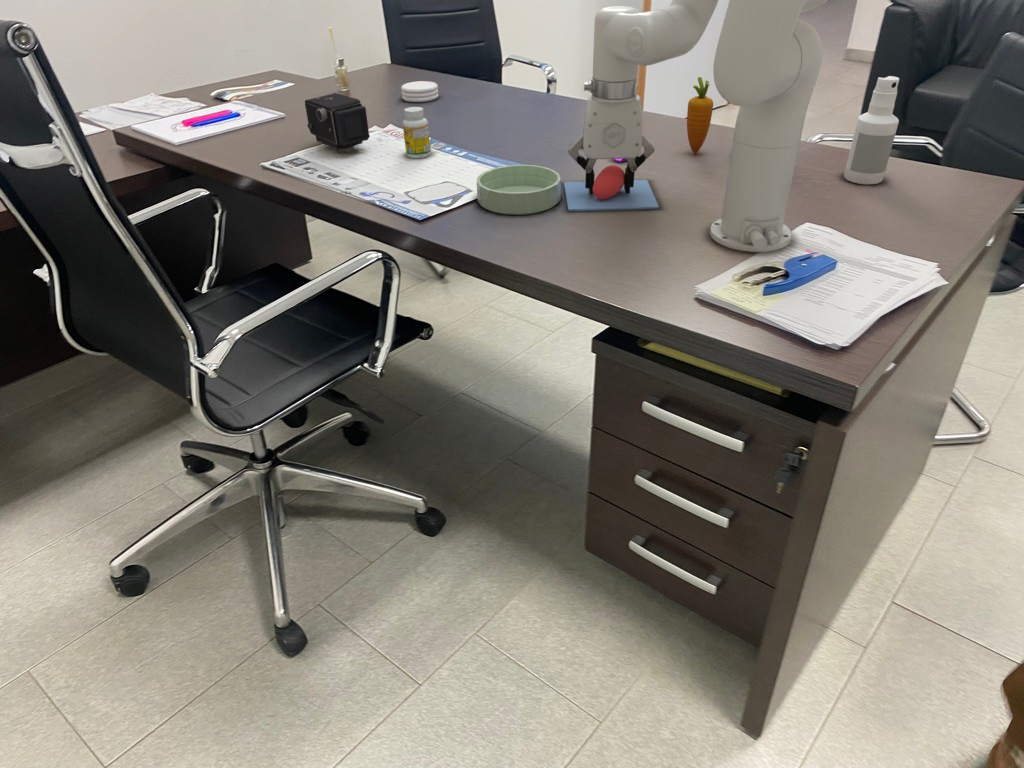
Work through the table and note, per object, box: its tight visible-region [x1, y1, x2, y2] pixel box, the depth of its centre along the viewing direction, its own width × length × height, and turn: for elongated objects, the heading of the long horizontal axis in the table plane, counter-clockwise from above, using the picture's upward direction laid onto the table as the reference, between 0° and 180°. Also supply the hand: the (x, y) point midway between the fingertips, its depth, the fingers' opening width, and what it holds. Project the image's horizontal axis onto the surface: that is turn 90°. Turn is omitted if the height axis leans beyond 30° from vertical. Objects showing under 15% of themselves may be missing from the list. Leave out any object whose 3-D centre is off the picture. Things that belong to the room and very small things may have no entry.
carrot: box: [686, 76, 714, 155], centre depth 147 cm, size 5×5×15 cm
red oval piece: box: [593, 164, 625, 200], centre depth 131 cm, size 5×9×6 cm, turn 146°
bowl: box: [476, 164, 562, 216], centre depth 132 cm, size 15×15×4 cm
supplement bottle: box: [402, 106, 432, 159], centre depth 154 cm, size 5×5×10 cm
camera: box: [304, 92, 370, 154], centre depth 159 cm, size 11×11×15 cm
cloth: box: [563, 179, 660, 212], centre depth 133 cm, size 14×16×1 cm
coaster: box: [400, 80, 439, 103], centre depth 196 cm, size 10×10×4 cm
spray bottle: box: [843, 75, 900, 186], centre depth 131 cm, size 7×7×18 cm
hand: (609, 190), depth 132 cm, fingers closed on red oval piece, 6 cm apart
